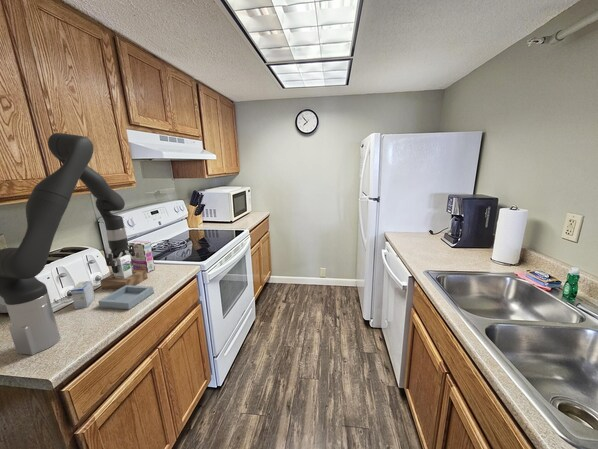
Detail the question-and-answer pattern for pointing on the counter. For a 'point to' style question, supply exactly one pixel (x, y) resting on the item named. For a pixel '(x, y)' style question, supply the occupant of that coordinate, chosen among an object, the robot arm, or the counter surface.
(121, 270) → the syrup box
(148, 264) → the candy bar box
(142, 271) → the socket collar
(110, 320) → the counter surface
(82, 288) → the medicine box
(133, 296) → the tray
